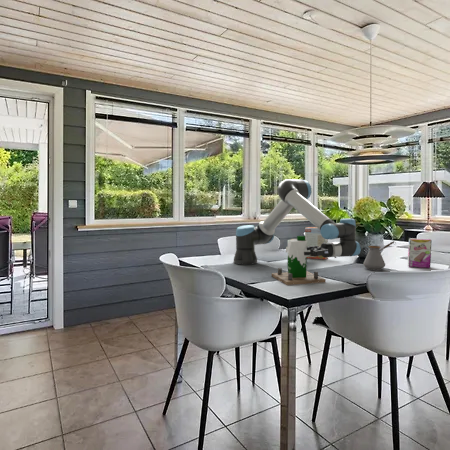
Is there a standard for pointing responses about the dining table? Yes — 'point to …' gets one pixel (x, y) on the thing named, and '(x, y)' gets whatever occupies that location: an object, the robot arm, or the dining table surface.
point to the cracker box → (314, 239)
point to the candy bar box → (419, 253)
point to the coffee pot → (375, 258)
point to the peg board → (288, 279)
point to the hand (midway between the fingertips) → (291, 251)
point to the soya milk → (297, 263)
